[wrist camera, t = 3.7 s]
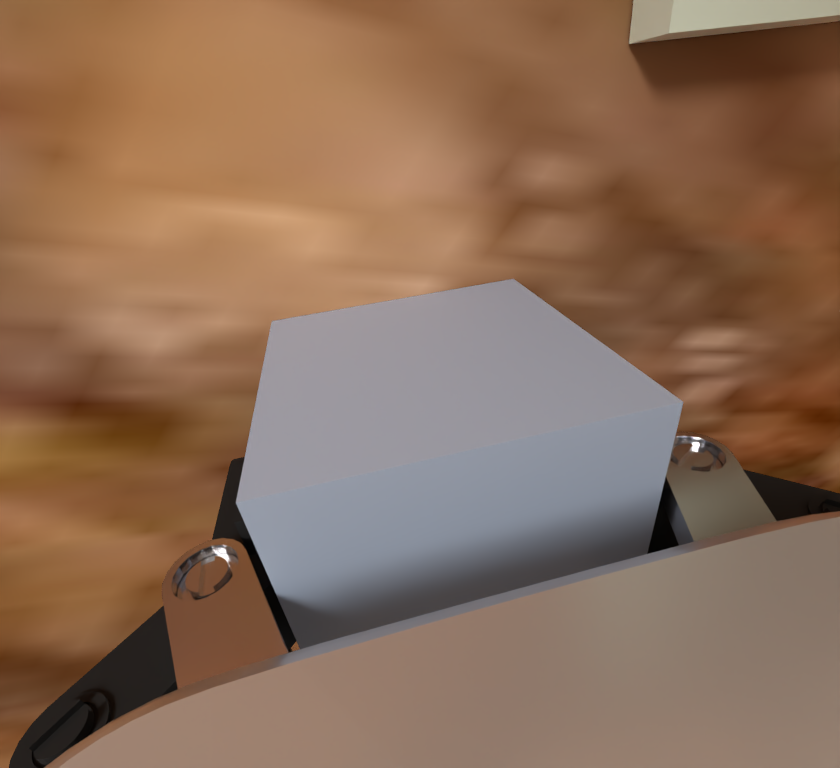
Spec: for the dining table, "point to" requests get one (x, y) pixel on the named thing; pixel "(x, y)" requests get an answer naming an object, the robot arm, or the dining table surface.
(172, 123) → the dining table surface
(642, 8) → the baseplate
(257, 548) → the slate brick
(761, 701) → the robot arm
